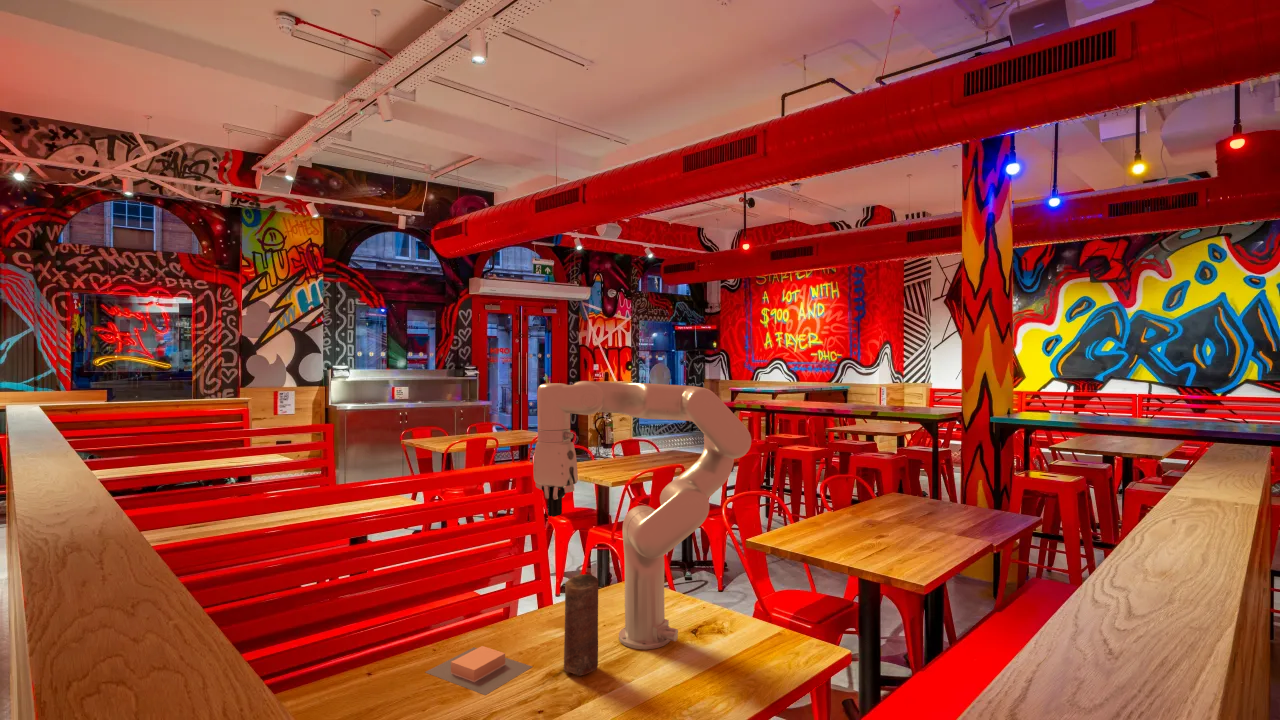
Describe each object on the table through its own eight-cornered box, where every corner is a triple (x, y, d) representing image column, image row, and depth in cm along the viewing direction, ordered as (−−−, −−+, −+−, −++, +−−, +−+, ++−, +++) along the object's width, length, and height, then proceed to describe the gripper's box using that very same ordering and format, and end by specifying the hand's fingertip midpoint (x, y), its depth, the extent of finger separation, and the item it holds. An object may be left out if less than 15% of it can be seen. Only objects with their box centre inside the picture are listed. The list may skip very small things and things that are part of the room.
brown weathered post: (605, 669, 145) (604, 577, 145) (584, 683, 139) (583, 587, 139) (578, 660, 149) (577, 571, 149) (556, 673, 143) (555, 580, 143)
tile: (482, 657, 149) (505, 664, 145) (451, 673, 142) (474, 682, 138) (482, 645, 149) (505, 653, 145) (450, 661, 142) (474, 670, 138)
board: (532, 671, 144) (532, 666, 144) (485, 700, 133) (485, 695, 133) (474, 651, 154) (473, 647, 154) (424, 676, 142) (424, 672, 142)
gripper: (589, 436, 154) (590, 515, 154) (540, 432, 162) (541, 508, 163) (569, 440, 148) (570, 523, 148) (519, 436, 156) (519, 514, 156)
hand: (554, 515), depth 155 cm, fingers closed
